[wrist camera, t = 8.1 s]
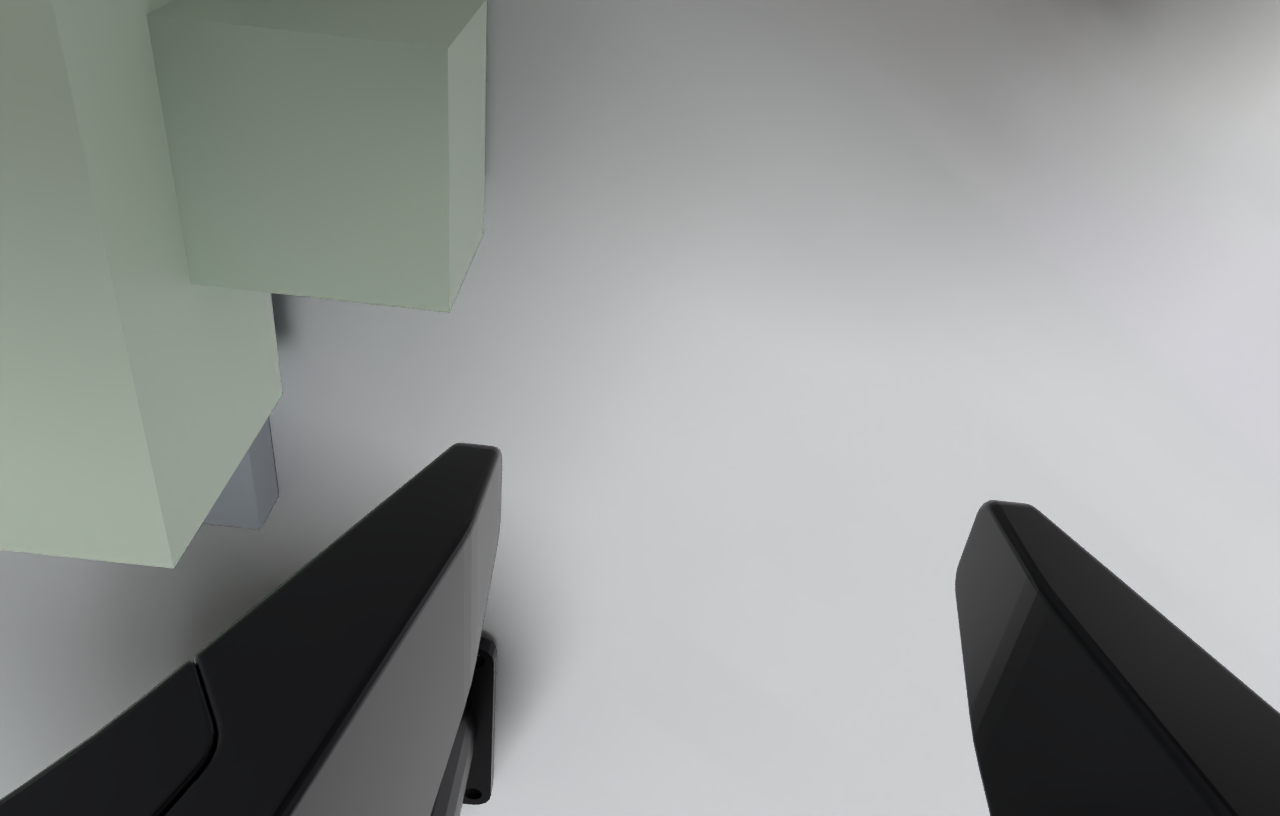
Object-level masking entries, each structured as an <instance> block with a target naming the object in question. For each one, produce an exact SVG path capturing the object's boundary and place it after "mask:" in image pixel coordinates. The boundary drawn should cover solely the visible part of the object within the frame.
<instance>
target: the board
mask: <svg viewBox="0 0 1280 816" xmlns="http://www.w3.org/2000/svg"><path fill="white" fill-rule="evenodd" d="M278 497H279V495H278V487H277V479H276V472H275V464H274V456H273V449H272V441H271V433H270V425H269V418H267V420H266V422H265V423H264V425H263V426H262V428H261V430H260V431H259V433H258V434H257V436H256V438H255V439H254V441H253V442H252V444H251V446H250V447H249V449H248V450H247V452H246V454H245V455H244V457H243V459H242V460H241V462H240V463H239V465H238V467H237V468H236V470H235V471H234V473H233V475H232V476H231V478H230V479H229V481H228V483H227V484H226V486H225V487H224V489H223V491H222V492H221V494H220V495H219V497H218V499H217V500H216V502H215V503H214V505H213V507H212V508H211V510H210V511H209V513H208V515H207V516H206V518H205V519H204V521H203V523H202V524H211V525H220V526H230V527H239V528H248V529H258V530H261V528H262V526H263V524H264V522H265V520H266V519H267V517H268V515H269V513H270V511H271V509H272V508H273V506H274V504H275V502H276V500H277V498H278Z"/></svg>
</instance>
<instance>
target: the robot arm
mask: <svg viewBox="0 0 1280 816" xmlns="http://www.w3.org/2000/svg"><path fill="white" fill-rule="evenodd" d="M501 486H502V454H501V452H500V450H499V449H498V448H497V447H495V446H487V445H478V444H469V443H457V444H454V445H453V446H451V447H450V448H449V449H447V450H446V451H445V452H444V453H442V454H441V455H440V456H439V457H438V458H436V459H435V460H434V461H433V462H431V463H430V464H429V465H428V466H426V467H425V468H424V469H423V470H422V471H420V472H419V473H418V474H417V475H415V476H414V477H413V478H412V479H411V480H409V481H408V482H407V483H406V484H404V485H403V486H402V487H401V488H399V489H398V490H397V491H396V492H395V493H393V494H392V495H391V496H390V497H388V498H387V499H386V500H385V501H383V502H382V503H381V504H380V505H379V506H377V507H376V508H375V509H374V510H372V511H371V512H370V513H369V514H368V515H366V516H365V517H364V518H363V519H361V520H360V521H359V522H358V523H356V524H355V525H354V526H353V527H352V528H350V529H349V530H348V531H347V532H345V533H344V534H343V535H342V536H341V537H339V538H338V539H337V540H336V541H334V542H333V543H332V544H331V545H329V546H328V547H327V548H326V549H325V550H323V551H322V552H321V553H320V554H318V555H317V556H316V557H315V558H314V559H312V560H311V561H310V562H309V563H307V564H306V565H305V566H304V567H302V568H301V569H300V570H299V571H298V572H296V573H295V574H294V575H293V576H291V577H290V578H289V579H288V580H287V581H285V582H284V583H283V584H282V585H280V586H279V587H278V588H277V589H275V590H274V591H273V592H272V593H271V594H269V595H268V596H267V597H266V598H264V599H263V600H262V601H261V602H260V603H258V604H257V605H256V606H255V607H253V608H252V609H251V610H250V611H248V612H247V613H246V614H245V615H244V616H242V617H241V618H240V619H239V620H237V621H236V622H235V623H234V624H233V625H231V626H230V627H229V628H228V629H226V630H225V631H224V632H223V633H221V634H220V635H219V636H218V637H217V638H215V639H214V640H213V641H212V642H210V643H209V644H208V645H207V646H206V647H204V648H203V649H202V650H201V651H199V652H198V653H197V654H196V655H195V657H194V662H195V663H194V662H192V661H187V662H185V663H184V664H183V665H182V666H180V667H179V668H178V669H177V670H175V671H174V672H173V673H172V674H171V675H169V676H168V677H167V678H166V679H164V680H163V681H162V682H161V683H159V684H158V685H157V686H156V687H155V688H153V689H152V690H151V691H150V692H148V693H147V694H146V695H144V696H143V697H142V698H141V699H139V700H138V701H137V702H135V703H134V704H133V705H131V706H130V707H129V708H128V709H126V710H125V711H124V712H122V713H121V714H120V715H119V716H117V717H116V718H115V719H113V720H112V721H111V722H109V723H108V724H107V725H106V726H104V727H103V728H102V729H100V730H99V731H98V732H97V733H95V734H94V735H93V736H91V737H90V738H88V739H87V740H86V741H84V742H83V743H81V744H80V745H78V746H77V747H76V748H74V749H73V750H71V751H70V752H68V753H67V754H66V755H64V756H63V757H61V758H60V759H59V760H57V761H56V762H54V763H53V764H51V765H50V766H49V767H47V768H46V769H44V770H43V771H41V772H40V773H39V774H37V775H36V776H34V777H33V778H32V779H30V780H29V781H27V782H26V783H24V784H23V785H22V786H20V787H19V788H17V789H16V790H14V791H13V792H11V793H10V794H8V795H7V796H5V797H4V798H2V799H1V800H0V816H460V812H461V808H462V803H463V804H473V805H476V804H483V803H486V802H487V801H488V800H489V799H490V796H491V791H492V786H493V766H494V730H495V694H496V658H497V651H496V647H495V645H494V644H493V643H492V641H490V640H488V639H487V638H485V637H481V632H482V627H483V621H484V616H485V610H486V605H487V599H488V594H489V588H490V583H491V577H492V572H493V567H494V561H495V556H496V550H497V545H498V539H499V531H500V520H501ZM955 592H956V602H957V610H958V619H959V628H960V637H961V645H962V654H963V663H964V671H965V680H966V689H967V697H968V706H969V715H970V722H971V729H972V736H973V742H974V747H975V751H976V756H977V761H978V766H979V770H980V774H981V778H982V782H983V787H984V791H985V795H986V799H987V803H988V808H989V812H990V816H1280V713H1279V712H1278V711H1276V710H1275V709H1274V708H1273V707H1272V706H1270V705H1269V704H1268V703H1267V702H1266V701H1264V700H1263V699H1262V698H1261V697H1260V696H1259V695H1257V694H1256V693H1255V692H1254V691H1253V690H1251V689H1250V688H1249V687H1248V686H1247V685H1245V684H1244V683H1243V682H1242V681H1241V680H1240V679H1238V678H1237V677H1236V676H1235V675H1234V674H1232V673H1231V672H1230V671H1229V670H1228V669H1226V668H1225V667H1224V666H1223V665H1222V664H1221V663H1219V662H1218V661H1217V660H1216V659H1215V658H1213V657H1212V656H1211V655H1210V654H1209V653H1207V652H1206V651H1205V650H1204V649H1203V648H1201V647H1200V646H1199V645H1198V644H1197V643H1196V642H1194V641H1193V640H1192V639H1191V638H1190V637H1188V636H1187V635H1186V634H1185V633H1184V632H1182V631H1181V630H1180V629H1179V628H1178V627H1177V626H1175V625H1174V624H1173V623H1172V622H1171V621H1169V620H1168V619H1167V618H1166V617H1165V616H1163V615H1162V614H1161V613H1160V612H1159V611H1158V610H1156V609H1155V608H1154V607H1153V606H1152V605H1150V604H1149V603H1148V602H1147V601H1146V600H1144V599H1143V598H1142V597H1141V596H1140V595H1138V594H1137V593H1136V592H1135V591H1134V590H1133V589H1131V588H1130V587H1129V586H1128V585H1127V584H1125V583H1124V582H1123V581H1122V580H1121V579H1119V578H1118V577H1117V576H1116V575H1115V574H1114V573H1112V572H1111V571H1110V570H1109V569H1108V568H1106V567H1105V566H1104V565H1103V564H1102V563H1100V562H1099V561H1098V560H1097V559H1096V558H1095V557H1093V556H1092V555H1091V554H1090V553H1089V552H1087V551H1086V550H1085V549H1084V548H1083V547H1081V546H1080V545H1079V544H1078V543H1077V542H1076V541H1074V540H1073V539H1072V538H1071V537H1070V536H1068V535H1067V534H1066V533H1065V532H1064V531H1062V530H1061V529H1060V528H1059V527H1058V526H1056V525H1055V524H1054V523H1053V522H1052V521H1051V520H1049V519H1048V518H1047V517H1046V516H1045V515H1043V514H1042V513H1041V512H1040V511H1039V510H1037V509H1036V508H1035V507H1033V506H1031V505H1029V504H1024V503H1015V502H1006V501H997V500H990V501H988V502H986V503H984V504H983V505H982V506H981V508H980V509H979V511H978V513H977V515H976V518H975V521H974V524H973V526H972V529H971V532H970V534H969V537H968V540H967V543H966V545H965V548H964V551H963V553H962V556H961V559H960V562H959V564H958V568H957V572H956V580H955ZM477 655H480V656H477Z"/></svg>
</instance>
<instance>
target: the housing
mask: <svg viewBox="0 0 1280 816" xmlns="http://www.w3.org/2000/svg"><path fill="white" fill-rule="evenodd" d="M486 34H487V0H0V550H3V551H12V552H22V553H31V554H40V555H50V556H59V557H69V558H78V559H88V560H97V561H106V562H116V563H125V564H135V565H144V566H154V567H163V568H172V569H174V568H175V566H176V564H177V563H178V561H179V559H180V558H181V556H182V555H183V553H184V551H185V550H186V548H187V547H188V545H189V543H190V542H191V540H192V539H193V537H194V535H195V534H196V532H197V531H198V529H199V527H200V526H201V524H202V523H203V521H204V519H205V518H206V516H207V515H208V513H209V511H210V510H211V508H212V507H213V505H214V503H215V502H216V500H217V499H218V497H219V495H220V494H221V492H222V491H223V489H224V487H225V486H226V484H227V483H228V481H229V479H230V478H231V476H232V475H233V473H234V471H235V470H236V468H237V467H238V465H239V463H240V462H241V460H242V459H243V457H244V455H245V454H246V452H247V450H248V449H249V447H250V446H251V444H252V442H253V441H254V439H255V438H256V436H257V434H258V433H259V431H260V430H261V428H262V426H263V425H264V423H265V422H266V420H267V418H268V417H269V415H270V414H271V412H272V410H273V409H274V407H275V406H276V404H277V402H278V401H279V399H280V398H281V396H282V394H283V391H282V383H281V374H280V366H279V357H278V349H277V341H276V332H275V324H274V315H273V307H272V298H271V293H276V294H285V295H294V296H303V297H312V298H321V299H330V300H339V301H348V302H358V303H367V304H376V305H385V306H394V307H403V308H412V309H421V310H430V311H439V312H448V313H450V311H451V309H452V306H453V304H454V301H455V299H456V297H457V294H458V292H459V290H460V287H461V285H462V283H463V280H464V278H465V276H466V273H467V271H468V269H469V266H470V264H471V262H472V259H473V257H474V255H475V252H476V250H477V248H478V245H479V243H480V240H481V238H482V236H483V233H484V186H485V110H486Z"/></svg>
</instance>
